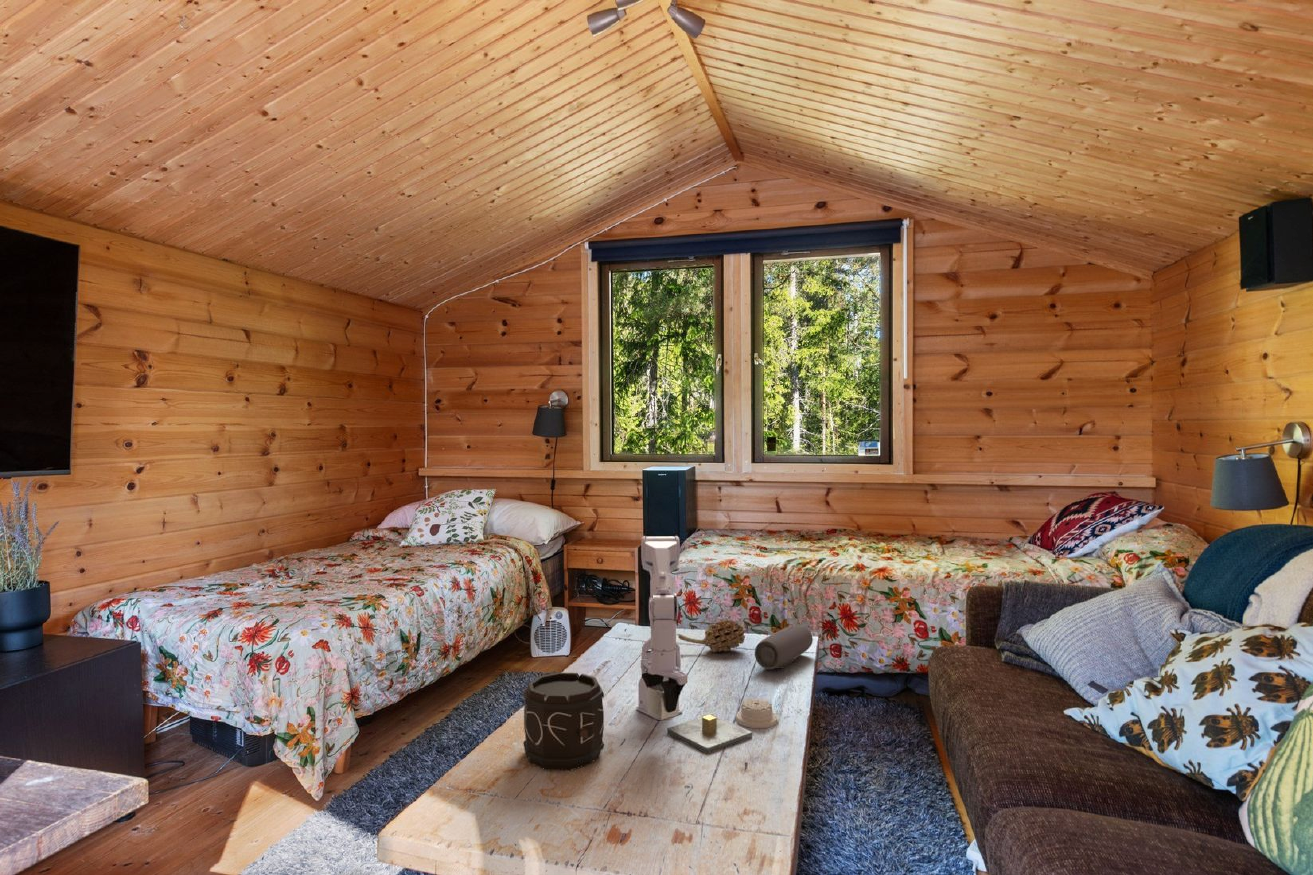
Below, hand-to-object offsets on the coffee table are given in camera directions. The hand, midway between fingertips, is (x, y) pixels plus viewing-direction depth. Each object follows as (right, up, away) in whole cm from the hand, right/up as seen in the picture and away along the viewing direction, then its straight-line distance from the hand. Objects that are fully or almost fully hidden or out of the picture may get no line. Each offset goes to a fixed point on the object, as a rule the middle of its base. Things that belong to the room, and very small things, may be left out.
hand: (663, 707), depth 173 cm
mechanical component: (+23, -9, +14) cm, 28 cm away
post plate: (+11, -8, +5) cm, 15 cm away
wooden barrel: (-22, -9, -6) cm, 24 cm away
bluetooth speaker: (+37, -7, +58) cm, 69 cm away
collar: (0, -2, 0) cm, 2 cm away
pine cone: (+16, -7, +69) cm, 71 cm away
